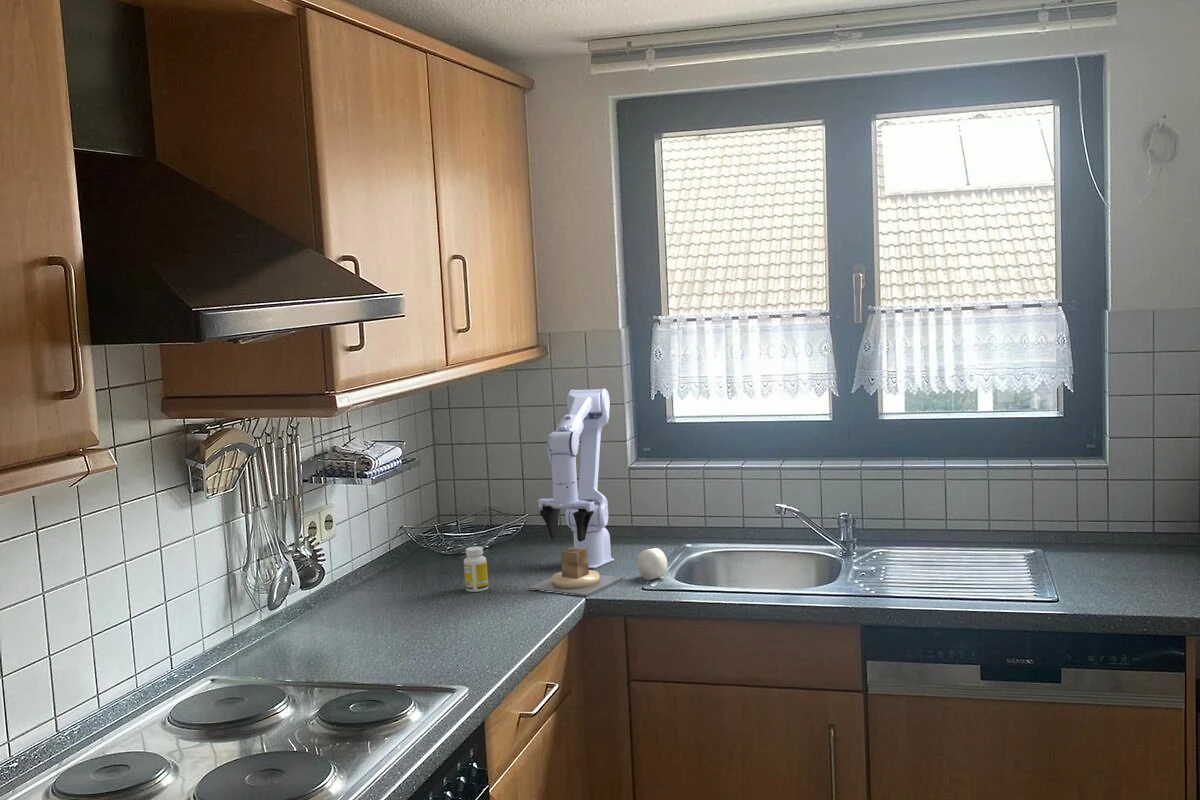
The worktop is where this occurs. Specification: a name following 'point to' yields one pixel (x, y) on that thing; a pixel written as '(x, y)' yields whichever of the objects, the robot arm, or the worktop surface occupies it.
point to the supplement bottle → (475, 570)
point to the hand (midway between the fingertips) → (568, 539)
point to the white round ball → (652, 563)
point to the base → (581, 590)
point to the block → (574, 563)
